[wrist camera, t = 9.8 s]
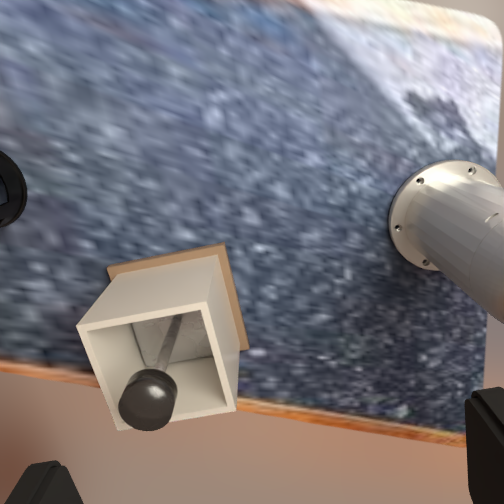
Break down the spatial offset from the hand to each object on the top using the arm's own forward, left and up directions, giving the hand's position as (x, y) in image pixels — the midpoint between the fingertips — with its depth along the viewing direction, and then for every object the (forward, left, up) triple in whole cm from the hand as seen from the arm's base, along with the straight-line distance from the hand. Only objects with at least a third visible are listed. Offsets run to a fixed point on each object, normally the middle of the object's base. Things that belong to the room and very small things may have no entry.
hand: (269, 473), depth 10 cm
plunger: (+12, +13, -35) cm, 39 cm away
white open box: (+12, +13, -38) cm, 42 cm away
